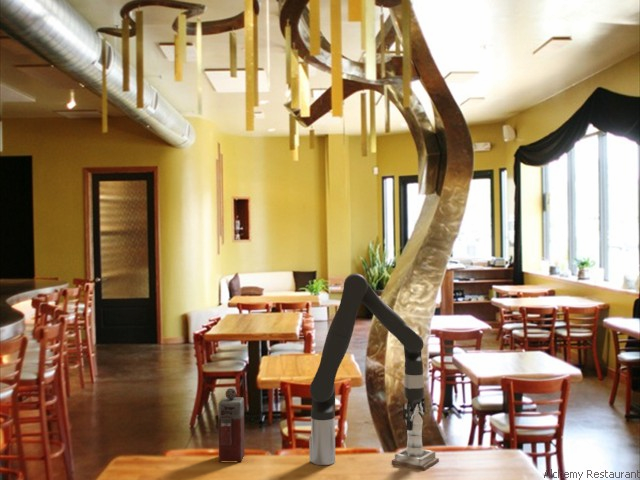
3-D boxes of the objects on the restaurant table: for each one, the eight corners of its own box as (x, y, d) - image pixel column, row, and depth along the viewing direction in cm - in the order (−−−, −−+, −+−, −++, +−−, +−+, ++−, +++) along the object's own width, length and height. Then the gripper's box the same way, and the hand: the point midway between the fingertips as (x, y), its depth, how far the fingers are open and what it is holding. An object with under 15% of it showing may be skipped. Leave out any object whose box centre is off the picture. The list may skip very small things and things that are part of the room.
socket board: (391, 463, 243) (391, 453, 244) (406, 455, 253) (406, 445, 253) (424, 470, 235) (424, 460, 235) (438, 461, 245) (438, 451, 245)
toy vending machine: (217, 464, 245) (216, 391, 246) (222, 455, 257) (221, 385, 257) (240, 464, 245) (239, 391, 246) (244, 454, 256) (243, 385, 257)
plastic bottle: (423, 462, 240) (422, 409, 241) (405, 461, 242) (404, 408, 242) (424, 456, 247) (423, 405, 247) (406, 455, 248) (405, 404, 248)
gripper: (414, 381, 253) (414, 422, 252) (396, 387, 241) (397, 430, 241) (431, 383, 248) (431, 424, 248) (414, 390, 237) (414, 433, 236)
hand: (414, 427), depth 244 cm, fingers open, 8 cm apart
